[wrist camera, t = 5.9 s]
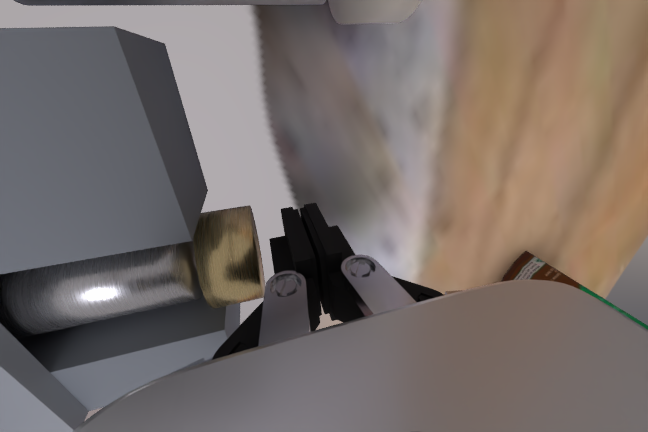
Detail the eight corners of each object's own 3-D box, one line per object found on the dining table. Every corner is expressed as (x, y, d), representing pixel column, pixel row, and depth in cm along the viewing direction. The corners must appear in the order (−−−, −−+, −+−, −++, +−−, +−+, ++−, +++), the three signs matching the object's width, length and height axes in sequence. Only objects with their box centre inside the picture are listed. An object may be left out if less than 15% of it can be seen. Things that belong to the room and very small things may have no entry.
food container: (459, 296, 21) (600, 445, 13) (519, 242, 20) (721, 368, 11) (515, 334, 27) (636, 453, 19) (564, 295, 26) (718, 403, 18)
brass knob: (-23, 230, 10) (-158, 310, 7) (248, 191, 12) (249, 237, 9) (38, 302, 12) (-42, 393, 9) (262, 258, 14) (268, 317, 11)
